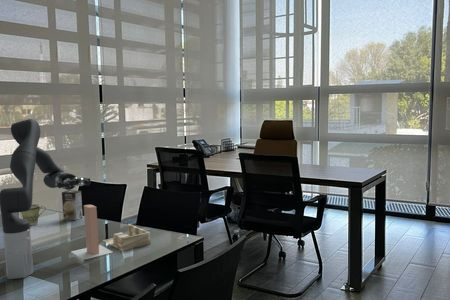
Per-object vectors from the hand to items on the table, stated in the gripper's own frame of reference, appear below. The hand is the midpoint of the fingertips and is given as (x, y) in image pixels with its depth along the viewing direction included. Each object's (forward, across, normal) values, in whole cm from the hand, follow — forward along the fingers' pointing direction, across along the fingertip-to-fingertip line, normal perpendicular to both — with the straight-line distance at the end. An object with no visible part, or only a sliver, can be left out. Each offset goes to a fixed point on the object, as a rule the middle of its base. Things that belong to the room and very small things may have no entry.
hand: (78, 184), depth 188 cm
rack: (+7, +17, +29) cm, 35 cm away
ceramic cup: (-66, -3, +29) cm, 72 cm away
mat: (+10, 0, +30) cm, 31 cm away
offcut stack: (+10, +14, +28) cm, 33 cm away
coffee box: (-60, +17, +29) cm, 69 cm away
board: (+11, 0, +28) cm, 30 cm away
